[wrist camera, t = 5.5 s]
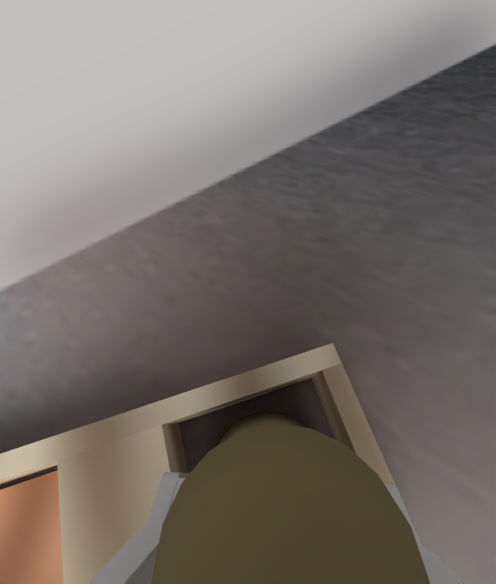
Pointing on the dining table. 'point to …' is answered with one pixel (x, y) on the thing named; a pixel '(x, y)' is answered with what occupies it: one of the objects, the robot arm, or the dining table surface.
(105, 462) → the socket rail
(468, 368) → the dining table surface
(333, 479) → the olive round-headed peg
